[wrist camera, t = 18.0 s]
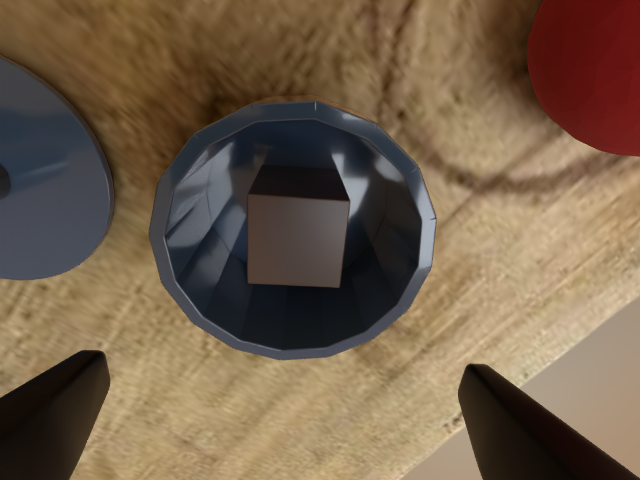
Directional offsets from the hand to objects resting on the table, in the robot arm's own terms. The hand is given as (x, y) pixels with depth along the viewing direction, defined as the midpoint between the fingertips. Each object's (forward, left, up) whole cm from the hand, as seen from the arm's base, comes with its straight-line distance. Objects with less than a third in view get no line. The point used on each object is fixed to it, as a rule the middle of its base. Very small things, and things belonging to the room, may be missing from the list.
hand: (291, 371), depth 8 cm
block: (0, 0, -12) cm, 12 cm away
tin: (0, 0, -12) cm, 12 cm away
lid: (-13, +8, -12) cm, 19 cm away
